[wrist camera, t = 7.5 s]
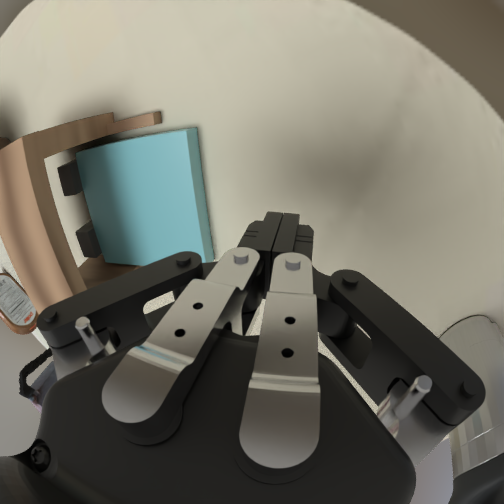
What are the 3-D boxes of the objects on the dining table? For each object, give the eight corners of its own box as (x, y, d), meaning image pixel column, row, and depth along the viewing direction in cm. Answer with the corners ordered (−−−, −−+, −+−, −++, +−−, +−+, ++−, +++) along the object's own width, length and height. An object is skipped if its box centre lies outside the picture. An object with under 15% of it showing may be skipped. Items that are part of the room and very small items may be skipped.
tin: (4, 272, 40) (-20, 295, 33) (2, 264, 38) (-22, 286, 31) (46, 316, 42) (23, 343, 35) (46, 309, 40) (21, 337, 33)
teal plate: (199, 126, 20) (186, 130, 18) (215, 255, 26) (207, 270, 24) (91, 146, 22) (75, 153, 20) (117, 250, 28) (105, 262, 26)
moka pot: (100, 352, 42) (49, 434, 26) (63, 287, 34) (-13, 378, 18) (140, 365, 40) (90, 461, 24) (103, 296, 33) (20, 410, 16)
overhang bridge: (159, 100, 18) (61, 116, 10) (189, 277, 27) (142, 356, 18) (57, 132, 21) (-21, 163, 12) (95, 267, 30) (44, 323, 21)
